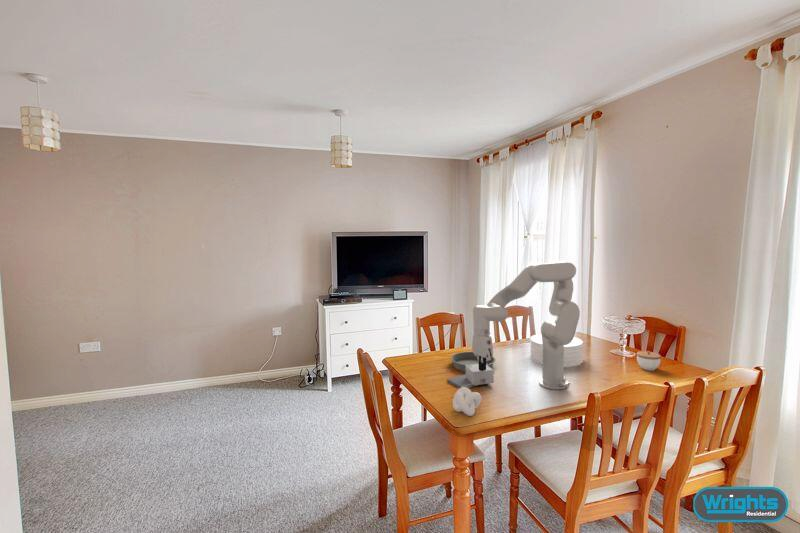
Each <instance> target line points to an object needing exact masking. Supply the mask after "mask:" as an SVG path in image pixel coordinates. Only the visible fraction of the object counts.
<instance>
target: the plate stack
mask: <svg viewBox="0 0 800 533" xmlns="http://www.w3.org/2000/svg"><path fill="white" fill-rule="evenodd" d="M583 342H584V341H583V340H582V339H580V338H579V337H575V336H574V338H573V340H572V341H571V342H570V343H569V344H567V345H564V368H571V367H572V366H573V367H578V366H580V365H582V364H581V363H583V355H584V354H583V347H584V346H583V344H584V343H583ZM529 344H530V348H529V350H530V351H529V352H530V355H529V356H530V357H529V358H530V359H531V360H532V361H533V362H535V363H538V364H540V365H542V360H543V344H542V336H541V333H537V334H534V335H532V336H531V337H530V342H529ZM577 365H578V366H577Z"/></svg>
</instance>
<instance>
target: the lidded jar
mask: <svg viewBox="0 0 800 533" xmlns="http://www.w3.org/2000/svg"><path fill="white" fill-rule="evenodd" d="M661 358H662V355H661V354H659V353H657V352H651V351H650V350H647V351H646V350H645V351H644V350H643V351H637V352H636V361H637V364H638V366H640V367H641V369H642V370H645V371H655V370H656V369H657V368H659V366H660V364H661Z"/></svg>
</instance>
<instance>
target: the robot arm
mask: <svg viewBox="0 0 800 533" xmlns="http://www.w3.org/2000/svg"><path fill="white" fill-rule="evenodd" d="M576 274H577V268H576V266H575V264H574V263H572V262H570V261H567V260H559V259H554V260H550V261H548V263H547V262H546V263H541V262H534V261H533V262H530V263H529V264H528V265H526V266H525V267H524V269H523V270H522V271H521V272H520V273H519V274H518V275H517V276H516V277H515V278H514V279H513V280H512V281H511V283H510V284H508V285H507V286H505V287H503V288H502V289H501V290H499V291H498V292H497V293H495V295H494V296H493V297H492V298H491V299H490V300H489V302H488V303H487V304H486V305H485V304H479V305H474V306H473V308H472V317H473V318H472V319H473V320H472V322H473V324H472V325H473V334H472V344H471V345H472V352H473V353H474V355H475V356H476V357H477V360H478V362H479V370H480V371H484V370H486V364H487V363H488V362H487V361H489V360H491V357H490V356H493V357H494V345H493V338H492V335H491V322H498V323H499V322H504V321H506V320H507V318H508V317H509V311H508V309H507V308H506V306H507V305H508V304H510V303H511V302H513V301H515V300H518V299H521V298H523V297H525V296H526V295H527V294H528V293H529V292H530V290H532V289H533V287H535V285H536V284H537V283H553V291H552V295H551V298H550V302H549V305H548V312H549V314H550V315H552V316H553V317H554V318H555V319H551V318H549V319H547V320H545V321H544V322H542V324H541V327H540V334H541V336H542V344H543V360H542V364H541V365H542V367H541V368H542V371H541V372H542V373H541V374H542V378H541V379H539V380H538V383H539V384H538V385H539V386H541V387H542V388H545V389H549V390H554V391H555V390H557V391H558V390H564V389H565V390H566V389H569V388H570V386H571V382H570V381H567V379H566V378H567V377H565V374H564V373H565V371H564V370H565V367H564V345H567V344H569V343H570V342H571V341H572V340H573V338H574V337H575V335H576V332H577V327H578V323H579V320H580V315H581V314H580V313H581V312H580V308H579V306H578V305H577V303H576V302H574V301H572V298H573V294H574V293H573V292H574V282H573V279H574V277H575V276H576Z"/></svg>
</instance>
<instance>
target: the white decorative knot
mask: <svg viewBox="0 0 800 533" xmlns="http://www.w3.org/2000/svg"><path fill="white" fill-rule="evenodd" d="M452 399H453V400H452V407H453V409H454V411H455V412H458V413H461V412H463V414H465V415H466V416H469V417H472V416H474V415H475V412H476V408H478V407H479V406H480V405H481V403H482V396H481V393H479V392H477V391H472V390H471V389H470V388H467V387H462V388H458V389H457V391H455V393H454V396H453V398H452Z"/></svg>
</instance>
